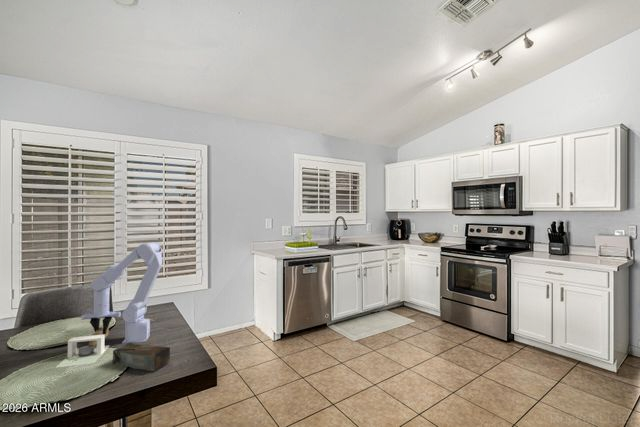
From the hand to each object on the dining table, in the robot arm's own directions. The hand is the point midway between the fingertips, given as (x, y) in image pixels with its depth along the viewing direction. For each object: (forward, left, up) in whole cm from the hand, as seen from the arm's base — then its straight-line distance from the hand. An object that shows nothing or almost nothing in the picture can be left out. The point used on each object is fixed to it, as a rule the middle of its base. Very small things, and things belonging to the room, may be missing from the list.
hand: (101, 334), depth 138 cm
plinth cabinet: (0, +16, -3) cm, 16 cm away
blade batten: (0, +2, -2) cm, 3 cm away
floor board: (0, +17, -3) cm, 17 cm away
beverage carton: (-23, +30, -3) cm, 37 cm away
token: (0, +16, -2) cm, 16 cm away
